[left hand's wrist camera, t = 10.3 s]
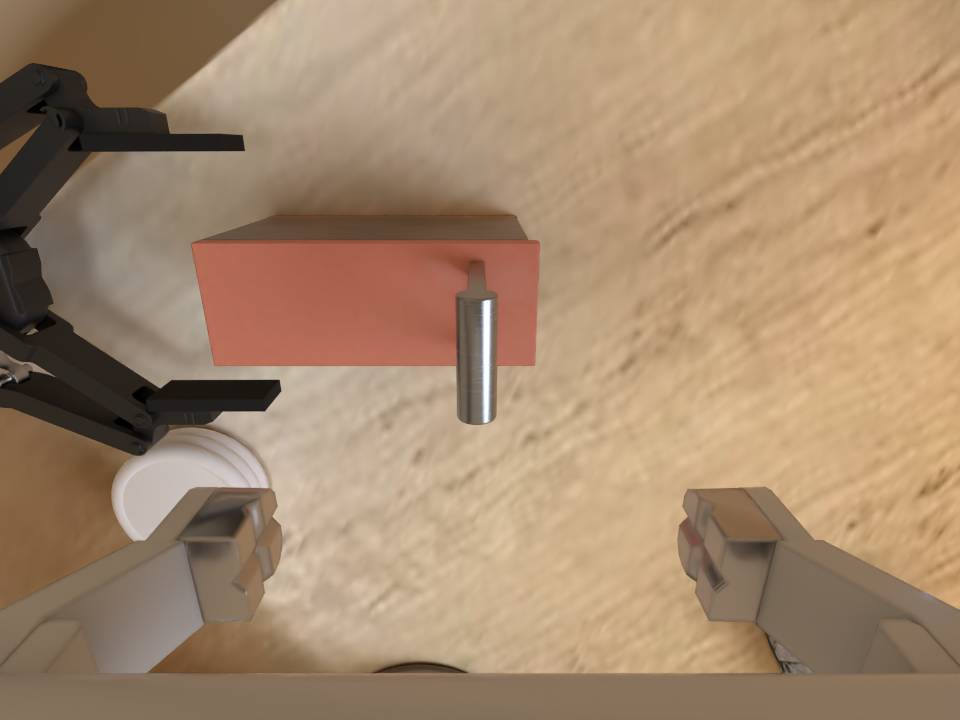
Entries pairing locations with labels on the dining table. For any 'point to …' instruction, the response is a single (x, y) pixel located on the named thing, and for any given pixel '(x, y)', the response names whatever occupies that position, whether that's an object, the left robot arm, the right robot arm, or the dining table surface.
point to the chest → (378, 228)
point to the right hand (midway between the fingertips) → (255, 279)
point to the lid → (375, 306)
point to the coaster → (179, 476)
